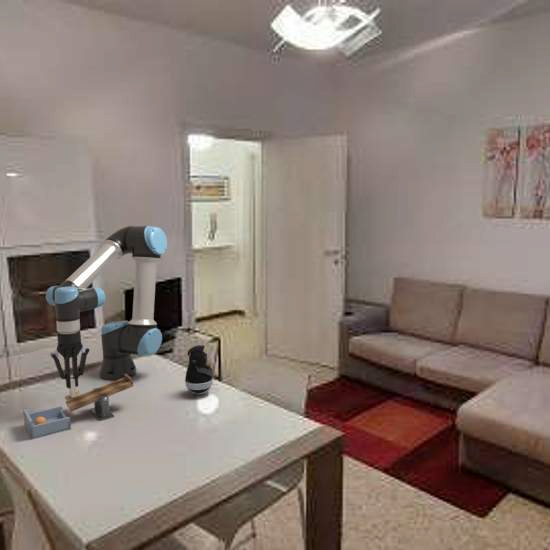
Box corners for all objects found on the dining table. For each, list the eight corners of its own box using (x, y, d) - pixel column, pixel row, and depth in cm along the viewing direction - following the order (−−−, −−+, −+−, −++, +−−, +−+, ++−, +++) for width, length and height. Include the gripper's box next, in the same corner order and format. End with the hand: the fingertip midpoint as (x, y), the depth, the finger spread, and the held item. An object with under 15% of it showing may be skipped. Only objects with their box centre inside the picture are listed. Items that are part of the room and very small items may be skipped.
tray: (62, 416, 174) (61, 400, 173) (70, 429, 164) (69, 411, 163) (24, 425, 167) (23, 409, 166) (31, 439, 157) (29, 421, 157)
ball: (34, 427, 165) (45, 423, 167) (36, 431, 162) (48, 427, 164) (32, 417, 164) (43, 413, 166) (34, 421, 161) (46, 417, 163)
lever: (121, 376, 189) (119, 368, 188) (133, 386, 179) (131, 378, 178) (62, 399, 177) (60, 391, 176) (71, 411, 167) (69, 403, 166)
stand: (104, 406, 182) (102, 385, 181) (114, 417, 173) (112, 395, 172) (90, 410, 179) (88, 389, 178) (99, 420, 170) (98, 398, 169)
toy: (211, 399, 187) (209, 348, 184) (183, 399, 188) (180, 348, 185) (215, 388, 198) (213, 340, 195) (188, 388, 198) (186, 340, 195)
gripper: (85, 326, 179) (88, 388, 183) (46, 332, 172) (51, 396, 175) (90, 330, 173) (94, 395, 177) (51, 336, 166) (55, 403, 169)
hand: (72, 396), depth 176 cm, fingers closed
